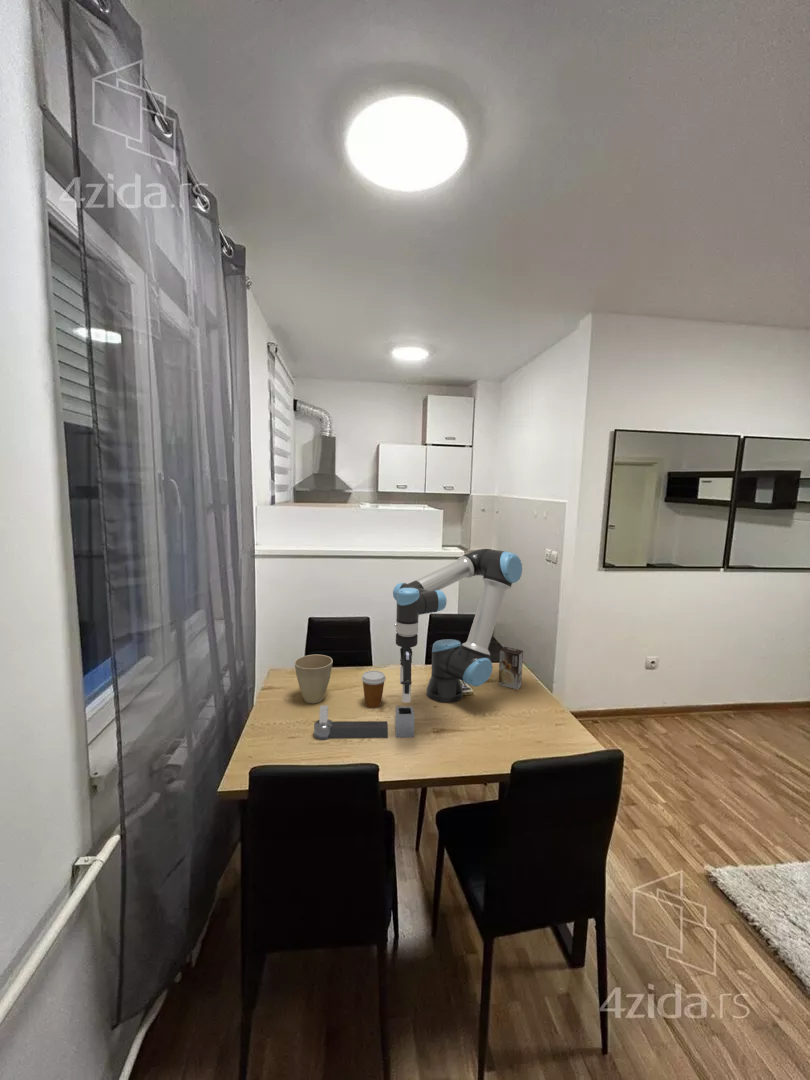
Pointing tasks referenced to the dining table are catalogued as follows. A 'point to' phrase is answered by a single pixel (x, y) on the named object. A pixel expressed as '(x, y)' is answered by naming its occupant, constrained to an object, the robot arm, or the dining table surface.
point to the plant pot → (313, 676)
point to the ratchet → (347, 728)
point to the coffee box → (510, 667)
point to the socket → (404, 722)
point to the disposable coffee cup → (373, 687)
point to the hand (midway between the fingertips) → (404, 692)
